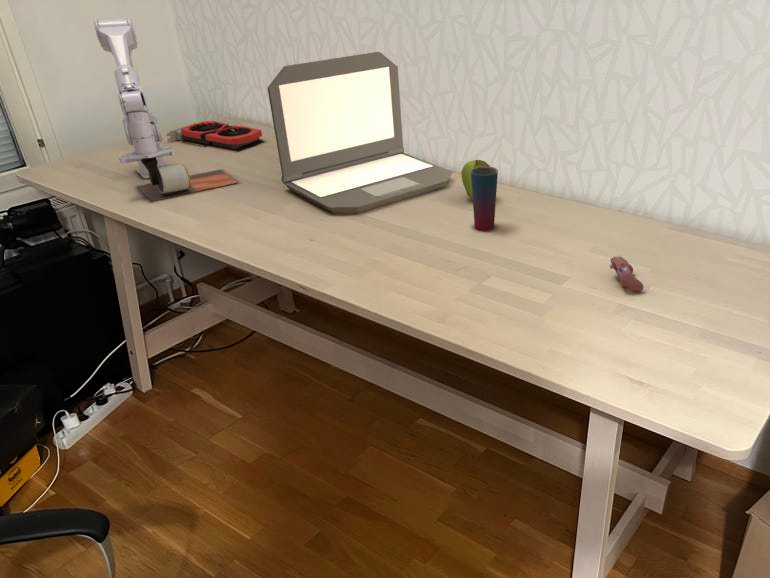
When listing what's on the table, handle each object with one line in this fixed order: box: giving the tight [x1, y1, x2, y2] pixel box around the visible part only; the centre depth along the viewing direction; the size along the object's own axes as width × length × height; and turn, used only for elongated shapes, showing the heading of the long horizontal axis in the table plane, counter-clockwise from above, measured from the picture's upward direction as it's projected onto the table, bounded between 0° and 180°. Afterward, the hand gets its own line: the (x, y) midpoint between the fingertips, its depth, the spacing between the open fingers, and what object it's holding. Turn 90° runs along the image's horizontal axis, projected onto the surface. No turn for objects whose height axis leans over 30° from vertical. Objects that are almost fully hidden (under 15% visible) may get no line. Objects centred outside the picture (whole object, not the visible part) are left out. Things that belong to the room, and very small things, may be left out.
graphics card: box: [165, 120, 264, 152], centre depth 244 cm, size 20×32×4 cm, turn 57°
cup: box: [471, 165, 499, 232], centre depth 176 cm, size 7×7×15 cm
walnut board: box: [137, 169, 238, 203], centre depth 208 cm, size 15×25×1 cm, turn 126°
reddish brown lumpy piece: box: [609, 255, 644, 293], centre depth 152 cm, size 10×5×7 cm, turn 5°
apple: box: [461, 159, 491, 201], centre depth 193 cm, size 9×8×12 cm
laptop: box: [267, 51, 454, 215], centre depth 196 cm, size 43×31×34 cm
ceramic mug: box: [156, 164, 191, 194], centre depth 201 cm, size 11×8×8 cm
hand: (155, 184), depth 199 cm, fingers closed, pressing on ceramic mug
